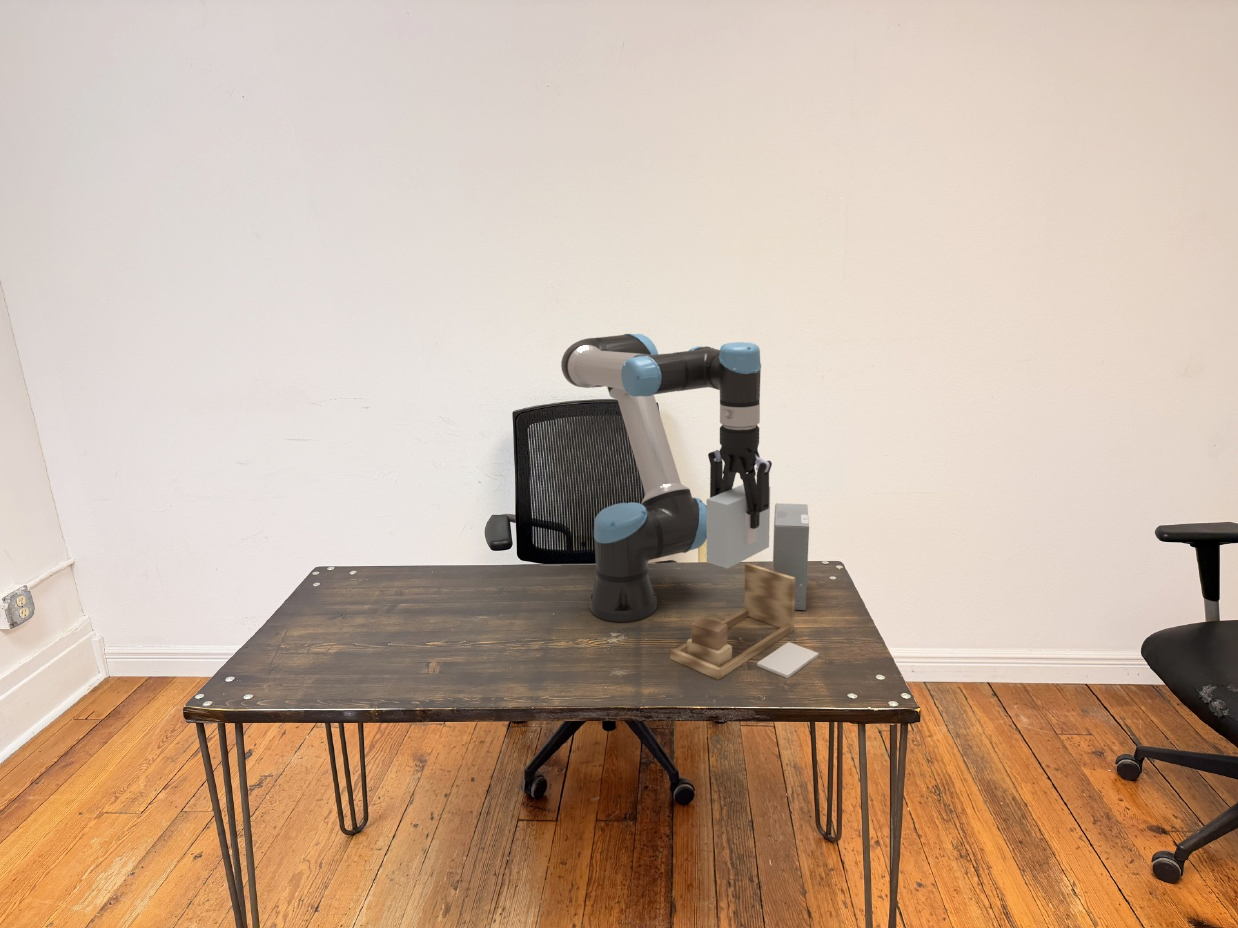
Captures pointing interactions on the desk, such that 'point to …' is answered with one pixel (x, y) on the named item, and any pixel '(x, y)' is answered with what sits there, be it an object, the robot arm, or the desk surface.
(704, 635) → the offcut upper
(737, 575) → the desk surface
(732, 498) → the grey rectangular block
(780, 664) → the mat
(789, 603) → the rack
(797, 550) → the hard drive box
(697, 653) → the offcut lower
